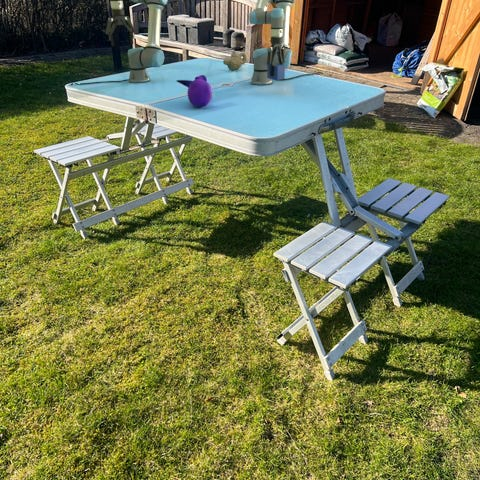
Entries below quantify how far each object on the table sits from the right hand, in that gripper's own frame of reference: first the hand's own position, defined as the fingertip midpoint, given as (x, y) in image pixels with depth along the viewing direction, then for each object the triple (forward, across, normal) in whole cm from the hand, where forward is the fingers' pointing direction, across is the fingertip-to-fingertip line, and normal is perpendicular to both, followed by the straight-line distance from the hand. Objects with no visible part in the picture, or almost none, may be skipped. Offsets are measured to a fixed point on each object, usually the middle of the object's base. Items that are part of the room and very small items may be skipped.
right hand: (275, 75), depth 289 cm
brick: (+2, 0, 0) cm, 2 cm away
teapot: (+13, +38, +84) cm, 93 cm away
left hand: (-18, -65, +76) cm, 102 cm away
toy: (+11, -54, +14) cm, 57 cm away
